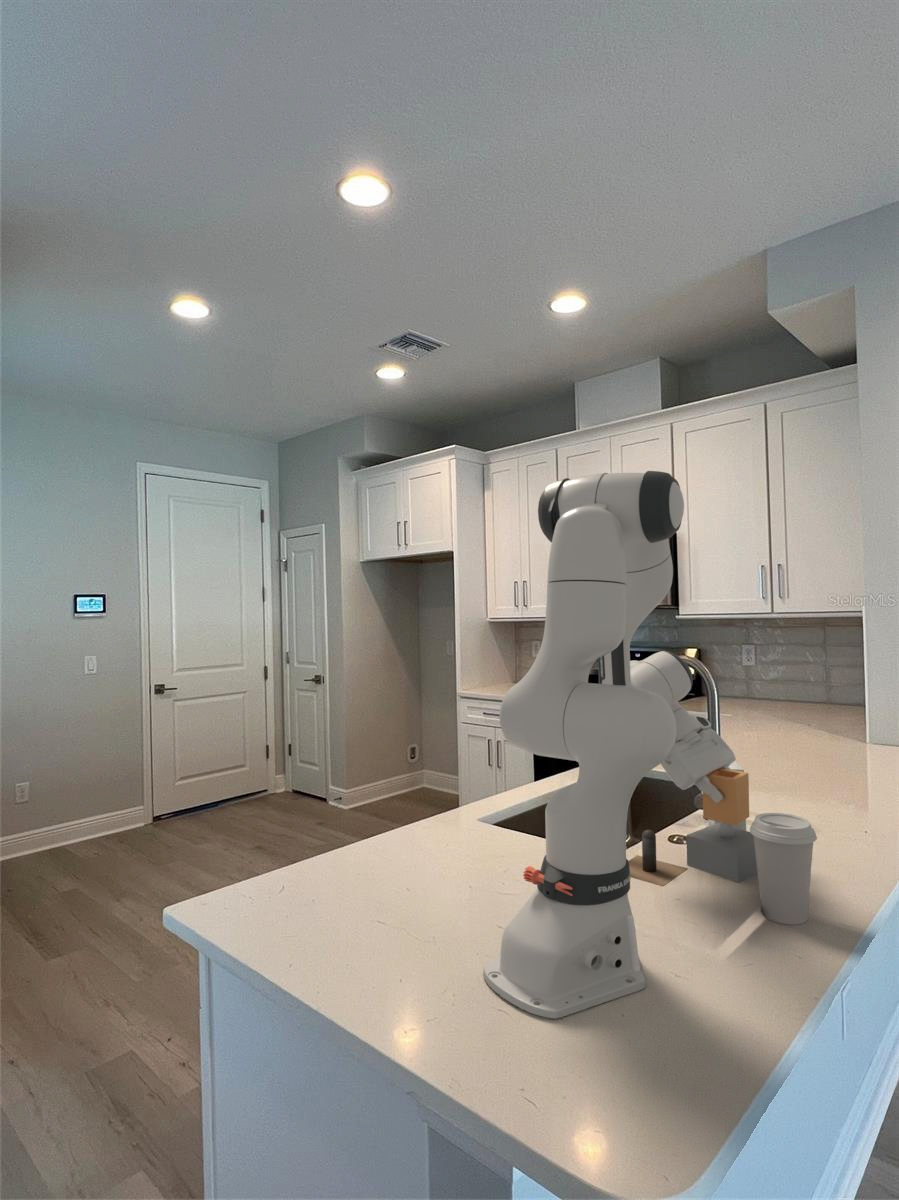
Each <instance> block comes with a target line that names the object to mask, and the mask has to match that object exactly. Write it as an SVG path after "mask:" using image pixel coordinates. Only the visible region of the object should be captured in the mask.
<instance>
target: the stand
mask: <svg viewBox="0 0 899 1200" xmlns="http://www.w3.org/2000/svg"><path fill="white" fill-rule="evenodd" d="M641 850H642V853H641V855H639V854H638V855H635V856H634V857H632V858H630V859H629V860H628V861H629V868H630V873H631V878H632V879H636V880H639V881H642V882H647V883H650V884H653V885H657V886H660V887H665V886H667V885H668V884H670V882H672V881H673V880H675V879H676V878H677V877H679V876H680V875H682V874H683V873H684V872H686V871H687V870H688V869H689V868H688V867H684V866H681V865H676V864H673V863H669V862H666V861H665V862H664V861H661V860H658V859H657V836H656V833H655V832H654V831H653V830H651V829H646V830H644V831H642V834H641Z"/></svg>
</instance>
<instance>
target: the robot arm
mask: <svg viewBox="0 0 899 1200" xmlns="http://www.w3.org/2000/svg"><path fill="white" fill-rule="evenodd" d="M684 501H685V500H684V495H683V492H682V490H681V487H680V484H679V482H678V480H677V479H676V478H675V477H674V476H673V475H672V474H670V473H669V472H665V471H660V470H659V471H658V470H647V471H645V472H617V473H616V472H615V473H608V472H602V473H595V474H594V473H593V474H590V475H589V474H588V475H584V476H579V477H575V478H567V477H566V478H563V479H560V480H559V479H558V480H556V481H554V482H551V483H549V484H548V485H547V486H546V487H545V489H544V490H543V492H542V493H541V495H540V497H539V499H538V505H537V506H538V507H537V517H538V523H539V526H540V530H541V531H542V533H543V534H544V536H545V537H546V539H547V540H548V541H549V542H550V543H551V545H550V551H549V559H548V567H547V581H546V582H547V585H546V586H547V587H546V607H545V609H546V610H545V619H544V620H545V621H544V630H543V636H542V642H541V645H540V648H539V651H538V653H537V655H536V658H535V660H534V662H533V663H532V665H531V667H530V668H529V669H528V672H527V673H526V674H525V675H524V676H523V677H522V678H521V679H520V680H519V681H517V683H516V684H513V686H511V688H509V690H508V691H507V692H506V693H505V695H504V697H503V699H502V701H501V704H500V708H499V714H498V715H499V725H500V729H501V732H502V734H503V736H504V738H505V740H506V741H507V742H508V743H509V744H510V745H511V746H514V747H516V748H518V749H520V750H523V751H525V752H528V753H530V754H534V755H536V756H539V757H546V758H547V757H548V758H553V759H561V760H568V761H574V762H577V763H578V765H579V766H578V777H577V781H576V782H574V783H572V784H570V785H567V786H565V787H563V788H561V789H559V790H558V791H556V792H555V793H554V794H553V795H552V796H551V797H550V798H549V800H548V802H547V804H546V807H545V809H544V811H545V812H544V813H545V814H544V817H545V819H544V820H545V855H544V857H543V860H542V863H541V866H540V867H541V868H540V869H536V868H534V867H533V866H532V865H530V866H529V865H528V866H526V868H524V871H523V875H522V876H523V880H525V881H526V882H529V883H531V884H533V885H534V886H535V885H536V890H535V891H534V892H533V893H532V894H531V896H530V897H529V898H528V899H527V901H526V902H525V903H524V905H523V906H522V907H521V908H520V910H518V912H517V913H516V914H515V916H514V917H513V918H512V919H511V921H509V923H508V924H507V925H506V926H505V928H504V930H503V933H502V938H501V945H500V955H498V956H496V957H495V958H494V959H492V960H490V961H489V962H487V963H486V964H485V965H484V966H483V972H482V974H483V979H484V981H485V982H486V984H487V985H488V986H489V987H490V988H491V989H492V990H493V991H494V992H495V993H496V994H497V995H499V996H501V998H503V999H504V1000H506V1001H507V1002H509V1003H511V1004H512V1005H514V1006H516V1007H518V1008H520V1009H522V1010H523V1011H525V1012H528V1013H531V1014H533V1015H536V1016H540V1017H543V1018H547V1019H548V1018H549V1019H560V1018H562V1017H566V1016H570V1015H571V1014H574V1013H577V1012H579V1011H580V1012H581V1011H583V1010H586V1009H589V1008H592V1007H594V1006H598V1005H601V1004H603V1003H606V1002H609V1001H612V1000H615V999H618V998H621V997H624V996H627V995H630V994H633V993H636V992H638V991H641V990H643V989H645V988H646V985H647V984H646V978H645V975H644V973H643V971H642V970H641V968H642V967H641V966H642V963H641V960H640V956H639V950H638V941H637V934H636V932H637V931H636V927H635V919H634V915H633V912H632V908H631V904H630V899H629V894H628V893H629V891H630V889H631V873H630V868H629V860H628V859H627V824H628V823H627V821H628V811H629V805H630V802H631V798H632V796H633V793H634V791H635V790H636V789H637V788H636V787H637V786H638V785H639V783H640V782H641V780H642V779H643V778H644V777H645V776H646V775H647V774H648V773H649V772H650V771H652V770H653V769H655V768H656V767H658V766H660V765H661V767H662V768H663V769H664V772H666V774H667V775H668V777H669V778H670V779H671V780H672V782H673V783H674V784H675V786H676V787H678V788H679V789H681V790H682V791H686V790H687V789H689V788H691V787H693V786H694V785H695V786H696V788H698V790H700V791H701V792H702V793H703V792H704V793H705V794H707V795H709V796H710V797H711V798H712V799H713V801H714V802H715V803H718V802H720V801H721V800H723V799H724V798H725V794H724V793H723V792H722V791H721V789H720V788H719V789H717V788H716V787H715V786H713V785H712V784H711V783H710V780H709V779H708V778H707V776H706V775H708V774H710V773H712V772H714V771H716V770H718V769H727V770H731V769H730V768H729V767H728V766H729V765H731V764H732V763H733V762H734V761H735V762H736V760H737V758H736V756H735V753H734V751H733V750H732V748H730V746H729V745H728V744H727V743H726V741H725V740H724V739H723V737H721V736H720V734H718V733H717V731H715V730H714V729H712V728H711V726H712V724H711V722H710V721H709V720H708V718H706V717H703V716H699V715H695V714H693V713H691V712H688V710H687V709H686V708H684V707H683V706H682V705H681V704H680V702H679V701H681V700H682V699H683V698H685V697H686V696H687V695H688V694H689V692H690V691H691V690H692V688H693V674H692V673H693V672H692V670H691V669H690V667H689V665H688V664H687V663H686V661H685V660H684V659H683V658H682V657H680V656H679V655H678V654H676V653H674V652H671V651H667V650H661V651H658V652H655V653H653V654H651V655H650V656H648V657H645V658H643V659H642V660H637V659H636V660H631V653H630V651H631V650H630V648H631V642H632V639H633V636H634V634H635V632H636V631H637V630H638V628H639V626H640V625H641V624H642V623H643V622H644V621H645V620H646V618H647V617H648V616H649V615H650V614H651V613H652V612H653V610H654V609H656V607H658V605H660V604H661V603H662V602H663V600H664V599H665V598H666V597H667V594H668V593H669V591H670V589H671V587H672V584H673V576H674V565H673V564H674V563H673V559H672V554H671V553H672V552H671V549H670V548H671V547H670V543H669V539H671V538H672V537H673V536H674V535H675V534H676V533H677V532H678V531H679V529H680V528H681V526H682V525H681V524H682V521H683V520H682V519H683V518H684V517H683V516H684V512H685V502H684ZM596 662H597V670H598V683H594V682H593V683H592V682H589V677H590V676H589V675H590V672H591V671H592V667H593V665H594V664H595V663H596Z"/></svg>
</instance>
